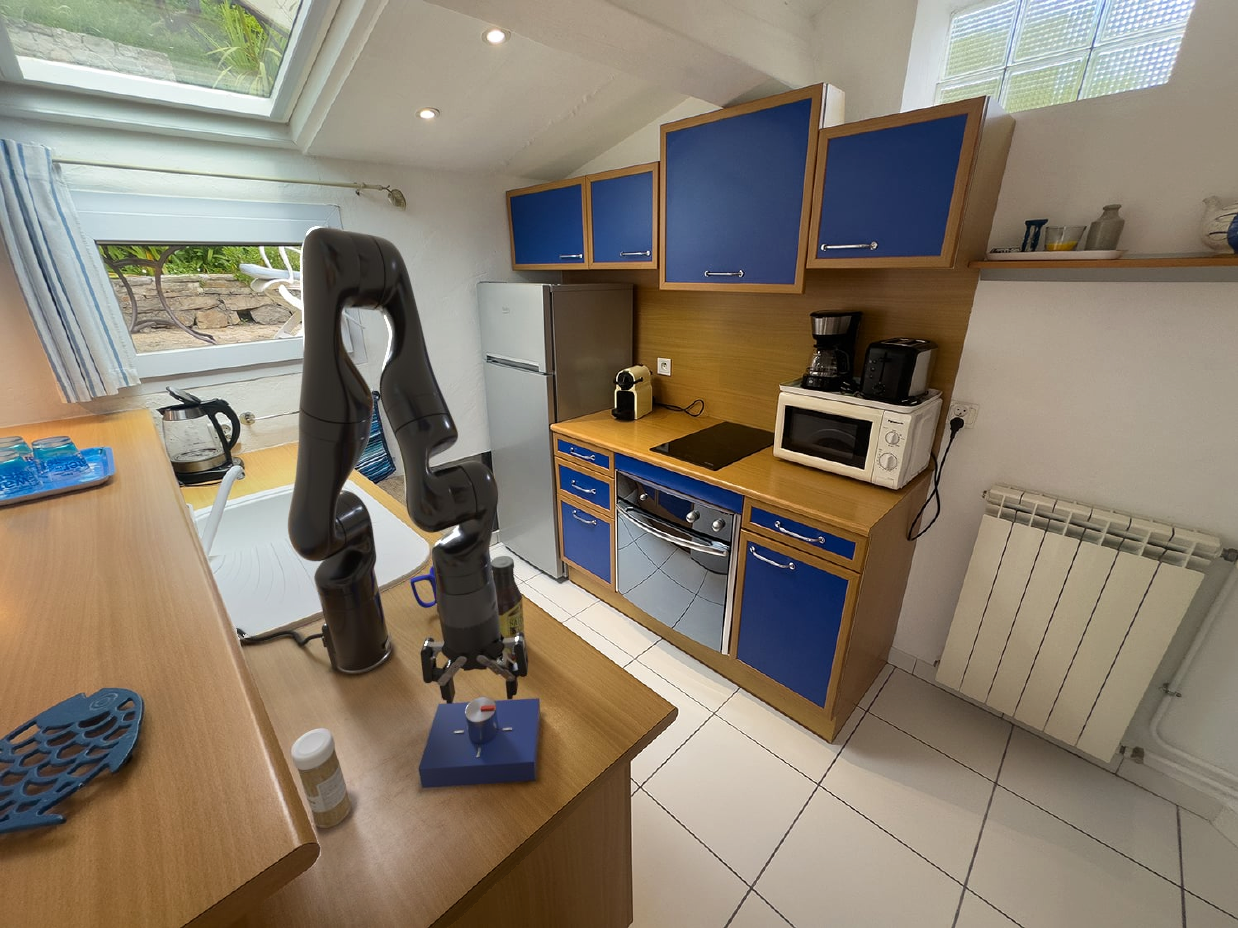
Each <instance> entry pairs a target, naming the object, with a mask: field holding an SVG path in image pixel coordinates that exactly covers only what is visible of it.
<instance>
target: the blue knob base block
mask: <svg viewBox="0 0 1238 928" xmlns="http://www.w3.org/2000/svg"><path fill="white" fill-rule="evenodd" d="M493 701H494V702H495V704H496V712H497V720H498V732H497V734H496V735H495V737H494V738H493V739H492V740H490V741H488V742H486V743H482V744H477V743H474V742H472V741H471V740H470V739H469V736H468V730H467V723H466V716H465V710H466V707H467V706H468V704H469V703H470V702H471V701H464V702H453V703H452V704H447V702H443V703H438V705H437V707H436V711H435V714H434V717H433V721H432V723H431V727H430V730H429V734H428V736H427V740H426V743H425V746H424V749H423V753H422V756H421V759H420V763H419V766H418V774H419V780H420V785H421V789H431V788H432V789H433V788H445V787H462V786H475V785H476V786H477V785H491V784H505V783H521V782H535V781H536V778H537V766H538V752H539V741H540V739H539V738H540V728H541V727H540V726H541V703H540V698H539V697H537V698H535V697H534V698H522V699H521V698H519V699H518V698H517V699H509V700H507V699H501V700H500V699H499V700H493Z"/></svg>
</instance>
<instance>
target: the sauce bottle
mask: <svg viewBox="0 0 1238 928" xmlns="http://www.w3.org/2000/svg"><path fill="white" fill-rule="evenodd" d="M491 568H492V576H493V580H494V583H495V587H496V595H497V604H498V613H499V622H500V631H501V634H502V635H503V636H504V638H512V637H516V634H517V633H518V632H522V633H524V636H525V635H526V634H525V633H526V632H525V618H524V602H523V594H522V593H521V590H520V588H519V587H518V584H517V582H516V580H515V579H516V578H515V573H514V568H515V560H514V559H513V558H512V557H511V556H508V555H500V556H496V557H494V558H493V559H492V560H491ZM525 637H526V636H525ZM504 651H505V652H506V653H507V656H508V657H509V658H510V659H511V660H513V659H516V657H515V655H512V653H511V652H510V650H509V649H508V648H504Z"/></svg>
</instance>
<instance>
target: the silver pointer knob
mask: <svg viewBox="0 0 1238 928" xmlns="http://www.w3.org/2000/svg"><path fill="white" fill-rule="evenodd" d="M494 701H495V700H493V699H492V698H490V697H487V696H481V697H477V698H474V699H473V700H471V701H469V702H470V703H469V704H468V706H467V707H466V710H465V716H466V723H467V730H468V736H469V739H470V740H471V741H472V742H474V743H477V744H482V743H486V742H488V741H490V740H492V739H493V738H494V737H495V735H496V734H497V732H498V720H497V712H496V704H495V702H494Z"/></svg>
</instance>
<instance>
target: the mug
mask: <svg viewBox="0 0 1238 928" xmlns="http://www.w3.org/2000/svg"><path fill="white" fill-rule="evenodd" d="M422 581H428V582H429V583H430V586H431V588H432V593H433V597H434V601H431V602H425V601H422V600H421V598H420V596H419V593H418V591H417V588H416V584H415V583H418V582H422ZM409 583H410V586H411V587H410V588H411V590H412V593H413V596H414V599H415V601H416V602H417V604H418V605H419V606H420V607H422V608H424V609H429V608H433V607H434V606H436V605H437V599H436V580H435V574H434V568H433V565H432V566H431V567H430V569H429V574H421V575H418V576H414V577H412V578H411V579H409Z"/></svg>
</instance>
